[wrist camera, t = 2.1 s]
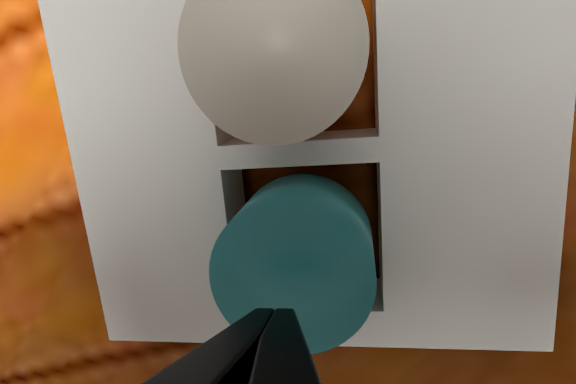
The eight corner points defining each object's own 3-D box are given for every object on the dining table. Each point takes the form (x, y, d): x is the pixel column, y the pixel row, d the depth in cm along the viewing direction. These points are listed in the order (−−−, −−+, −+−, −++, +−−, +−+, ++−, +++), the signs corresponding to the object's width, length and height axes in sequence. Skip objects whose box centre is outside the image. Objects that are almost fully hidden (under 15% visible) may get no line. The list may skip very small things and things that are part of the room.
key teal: (370, 170, 13) (374, 196, 10) (374, 299, 14) (379, 357, 11) (232, 176, 14) (198, 202, 11) (246, 298, 15) (219, 353, 12)
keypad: (568, -358, 11) (626, -478, 9) (523, 311, 16) (553, 351, 14) (40, -231, 14) (-25, -296, 11) (140, 307, 19) (109, 340, 16)
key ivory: (363, -36, 12) (366, -76, 9) (368, 126, 13) (372, 140, 10) (210, -16, 13) (164, -47, 10) (228, 135, 14) (191, 151, 11)
